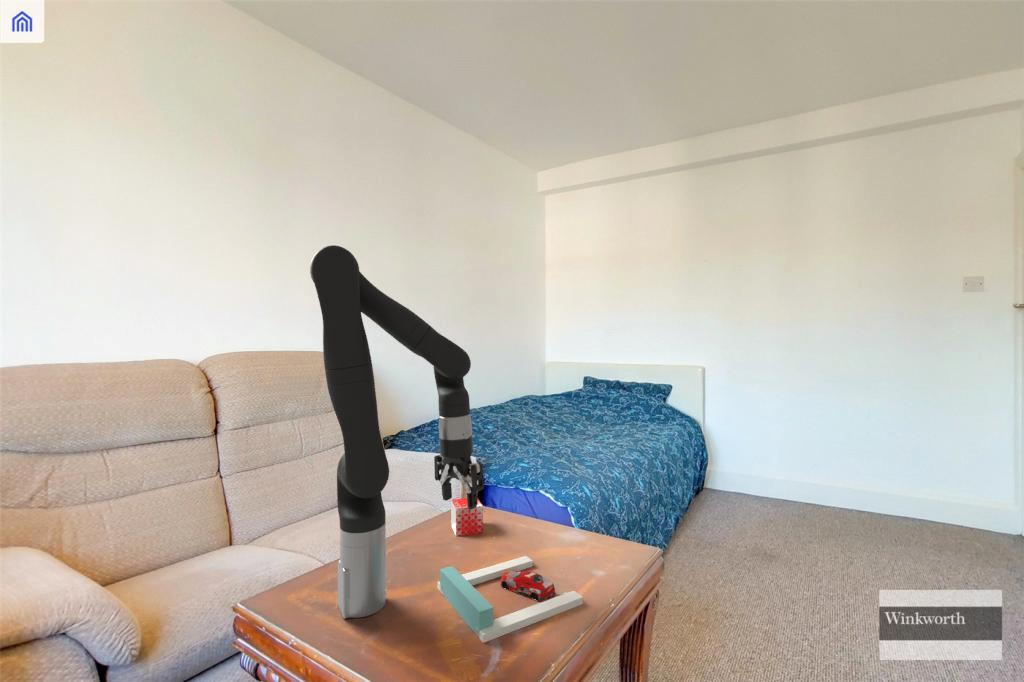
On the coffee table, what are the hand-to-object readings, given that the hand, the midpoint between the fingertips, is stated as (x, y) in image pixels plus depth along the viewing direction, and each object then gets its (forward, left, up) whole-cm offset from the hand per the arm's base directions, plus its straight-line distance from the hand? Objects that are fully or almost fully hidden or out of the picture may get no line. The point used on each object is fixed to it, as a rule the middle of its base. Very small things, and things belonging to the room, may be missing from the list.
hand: (459, 503), depth 107 cm
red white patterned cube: (+15, +27, -19) cm, 36 cm away
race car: (+12, -10, -19) cm, 25 cm away
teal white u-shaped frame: (+7, -10, -19) cm, 22 cm away
